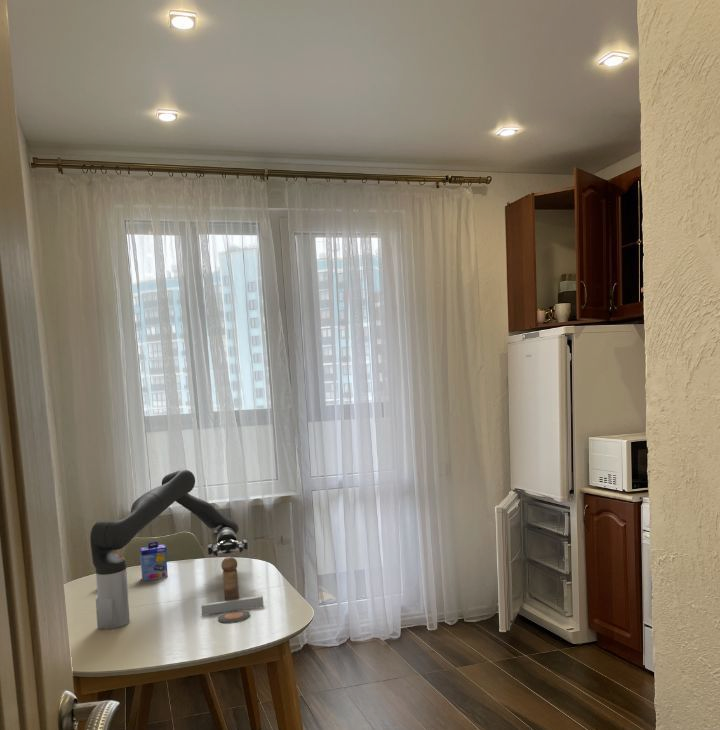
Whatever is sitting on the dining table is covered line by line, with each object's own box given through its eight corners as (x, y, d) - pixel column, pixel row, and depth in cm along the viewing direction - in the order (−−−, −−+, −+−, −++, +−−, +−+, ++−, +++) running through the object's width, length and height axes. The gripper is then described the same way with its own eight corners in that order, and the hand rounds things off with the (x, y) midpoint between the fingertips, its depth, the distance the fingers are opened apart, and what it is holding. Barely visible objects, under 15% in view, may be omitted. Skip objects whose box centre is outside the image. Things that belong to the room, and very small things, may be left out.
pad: (240, 623, 209) (240, 621, 209) (212, 622, 212) (212, 620, 212) (255, 612, 218) (254, 610, 218) (227, 611, 221) (227, 609, 221)
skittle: (235, 605, 226) (232, 559, 227) (221, 605, 228) (217, 559, 228) (242, 600, 232) (239, 554, 232) (228, 600, 233) (225, 554, 233)
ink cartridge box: (142, 581, 264) (140, 544, 265) (141, 578, 269) (138, 542, 270) (168, 577, 269) (166, 540, 269) (166, 573, 274) (164, 538, 274)
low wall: (263, 604, 225) (262, 595, 225) (263, 606, 224) (262, 597, 224) (201, 613, 221) (201, 604, 221) (201, 615, 219) (201, 605, 219)
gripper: (207, 533, 255) (207, 543, 240) (244, 528, 259) (247, 538, 243) (208, 553, 255) (209, 564, 240) (246, 548, 259) (249, 559, 243)
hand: (228, 551), depth 241 cm, fingers open, 8 cm apart
